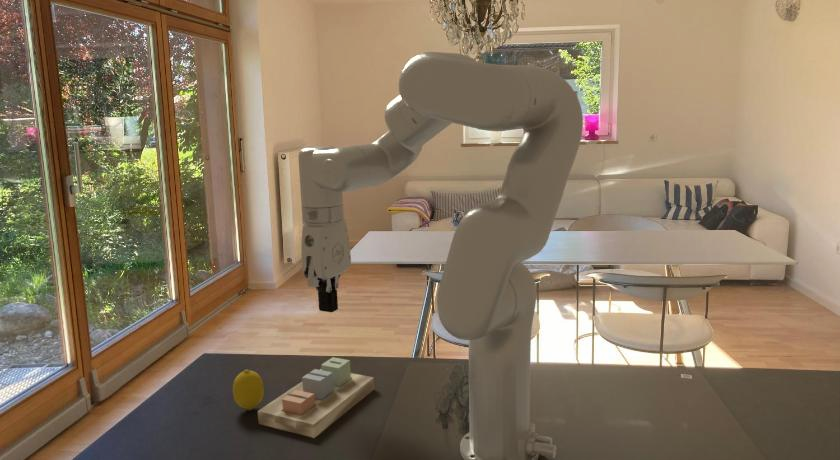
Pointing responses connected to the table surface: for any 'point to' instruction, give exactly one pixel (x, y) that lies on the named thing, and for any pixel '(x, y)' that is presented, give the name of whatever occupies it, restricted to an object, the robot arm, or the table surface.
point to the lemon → (248, 389)
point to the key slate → (318, 383)
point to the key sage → (338, 370)
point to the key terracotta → (298, 402)
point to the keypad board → (317, 408)
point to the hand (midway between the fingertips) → (328, 310)
